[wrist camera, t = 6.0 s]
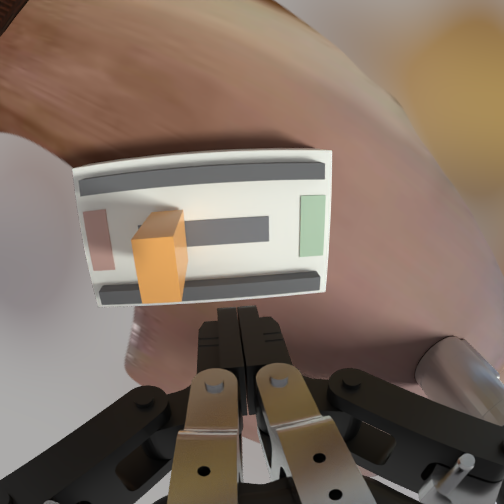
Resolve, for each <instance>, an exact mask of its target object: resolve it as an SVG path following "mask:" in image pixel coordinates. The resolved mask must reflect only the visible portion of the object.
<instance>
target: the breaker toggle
mask: <svg viewBox="0 0 504 504" xmlns="http://www.w3.org/2000/svg"><path fill="white" fill-rule="evenodd" d="M131 244H132V250H133V256H134V262H135V268H136V274H137V279H138V284H139V290H140V295H141V300H142V304H149V303H169V302H182V296H183V289H184V283H185V277H186V271H187V265H188V254H187V244H186V234H185V223H184V212H183V210H172V211H160V212H151V214H150V215H149V216H148V217H147V219H146V220H145V221H144V223H143V224H142V225H141V227H140V228H139V229H138V231H137V232H136V233H135V235H134V236H133V238H132V239H131Z"/></svg>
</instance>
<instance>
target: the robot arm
mask: <svg viewBox="0 0 504 504" xmlns="http://www.w3.org/2000/svg"><path fill="white" fill-rule="evenodd" d="M217 313H218V321H209V322H204V323H203V325H202V326H201V328H200V329H199V337H198V339H199V340H198V359H197V375H196V376H195V377H194V378H193V380H192V383H191V385H190V386H189V387H187V388H186V389H183V390H181V391H178V392H175V393H171V394H167V395H166V393H165V392H164V391H163V390H162V389H160V388H158V387H155V386H140V387H137V388H134V389H132V390H131V391H129V392H128V393H127V394H125V395H124V396H123V397H121V398H120V399H118V400H117V401H116V402H114V403H113V404H111V405H110V406H109V407H107V408H106V409H104V410H103V411H102V412H100V413H99V414H97V415H96V416H95V417H93V418H92V419H90V420H89V421H88V422H86V423H85V424H83V425H82V426H81V427H79V428H78V429H76V430H75V431H73V432H72V433H70V434H69V435H68V436H66V437H65V438H63V439H62V440H60V441H59V442H57V443H56V444H54V445H53V446H51V447H50V448H49V449H47V450H46V451H44V452H43V453H41V454H40V455H38V456H37V457H35V458H34V459H32V460H31V461H29V462H28V463H26V464H25V465H23V466H21V467H20V468H19V469H17V470H15V471H14V472H12V473H11V474H9V475H8V476H6V477H4V478H3V479H1V480H0V504H134V503H135V502H136V501H137V500H138V499H140V497H142V496H143V495H144V494H145V493H146V492H148V491H149V490H150V489H151V488H152V487H153V486H154V485H155V484H156V483H158V481H160V480H161V479H162V478H163V477H164V476H165V475H166V474H167V473H168V472H169V471H171V470H172V471H171V478H170V486H169V492H168V495H167V496H165V497H163V498H161V499H159V500H157V501H156V502H154V503H153V504H495V502H497V504H504V384H503V383H502V382H501V381H500V380H499V377H500V375H499V373H498V372H497V371H496V370H495V369H494V368H493V367H492V366H491V365H490V364H489V363H488V362H487V361H486V360H485V359H484V358H483V357H482V356H481V355H480V354H479V353H478V352H477V351H476V350H475V349H474V348H473V347H472V346H471V345H470V344H469V343H468V342H467V341H466V340H465V339H464V340H460V339H459V338H458V337H448V338H445V339H443V340H441V341H439V342H438V343H436V344H435V345H434V346H433V347H432V348H430V349H429V351H428V352H427V353H426V354H425V355H424V356H423V358H422V359H421V361H420V362H419V364H418V366H417V368H416V372H415V379H416V381H417V383H418V384H419V385H420V387H421V388H422V390H423V391H424V392H425V394H426V395H427V396H428V398H429V399H430V400H429V399H427V398H425V397H422V396H420V395H417V394H415V393H412V392H410V391H408V390H405V389H403V388H400V387H398V386H396V385H393V384H391V383H389V382H386V381H384V380H382V379H379V378H377V377H375V376H373V375H370V374H368V373H366V372H364V371H361V370H358V369H353V368H347V369H341V370H338V371H336V372H335V373H333V374H332V375H331V377H330V379H329V380H322V379H312V378H308V377H305V376H303V375H301V373H300V371H299V370H298V369H297V368H296V367H294V366H293V365H292V362H291V359H290V356H289V353H288V350H287V347H286V344H285V342H284V339H283V336H282V333H281V330H280V327H279V324H278V323H277V322H276V321H275V320H274V319H273V318H271V317H262V318H259V315H258V311H257V307H256V305H255V306H242V307H237V312H236V307H229V308H217ZM237 313H238V319H237ZM246 397H247V403H246ZM247 404H248V410H249V415H254V414H256V419H257V432H258V436H259V440H260V443H261V447H262V450H263V453H264V457H265V461H266V464H267V467H268V471H269V475H270V480H271V482H270V483H267V484H250V483H243V456H242V430H243V417H242V416H244V415H247ZM362 421H363V422H362ZM364 422H365V423H364ZM366 423H367V424H366ZM368 424H369V425H368ZM370 425H372V426H370ZM373 426H374V427H373ZM375 427H376V428H375ZM377 428H378V429H377ZM379 429H380V430H379ZM381 430H382V431H381ZM383 431H384V432H383ZM385 432H386V433H385ZM387 433H388V434H387ZM389 434H390V435H389ZM356 464H357V465H359V466H361V467H363V468H365V469H367V470H369V471H371V472H373V473H375V474H377V475H379V476H381V477H383V478H385V479H387V480H389V481H391V482H393V483H395V484H398V485H400V486H402V487H404V488H406V489H409V490H411V491H413V492H416V493H418V495H419V500H420V502H419V501H417V500H415V499H413V498H410V497H408V496H406V495H404V494H402V493H400V492H398V491H396V490H394V489H392V488H390V487H388V486H386V485H384V484H383V483H381V482H379V481H377V480H375V479H372V478H370V477H367V476H363V475H362V474H361V472H360V470H359V468H358V467H357V465H356Z"/></svg>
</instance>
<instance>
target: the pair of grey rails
mask: <svg viewBox="0 0 504 504" xmlns="http://www.w3.org/2000/svg"><path fill="white" fill-rule="evenodd" d="M324 179H325V163H322V162H260V163H234V164H216V165H200V166H187V167H175V168H164V169H154V170H144V171H135V172H127V173H119V174H111V175H104V176H96V177H90V178H84V179H81V180H79V181H78V182H79V190H80V197H81V196H88V195H96V194H103V193H112V192H120V191H129V190H138V189H148V188H159V187H170V186H182V185H195V184H209V183H226V182H245V181H270V180H324ZM320 278H321V277H320V275H319V274H318V273H317V271H309V272H298V273H286V274H273V275H261V276H248V277H234V278H220V279H206V280H191V281H185V283H184V289H183V296H182V301H197V300H212V299H226V298H239V297H251V296H263V295H275V294H286V293H296V292H306V291H316V290H320ZM99 296H100V300H101V303H102V305H115V304H141V303H142V300H141V295H140V290H139V284H122V285H103V286H102V287H101V289H100V291H99Z"/></svg>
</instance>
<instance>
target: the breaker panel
mask: <svg viewBox="0 0 504 504" xmlns="http://www.w3.org/2000/svg"><path fill="white" fill-rule="evenodd" d="M260 162H322V163H325V179H324V180H270V181H245V182H226V183H209V184H195V185H182V186H170V187H159V188H148V189H138V190H129V191H120V192H112V193H103V194H96V195H88V196H81V197H80V190H79V182H78V181H79V180H81V179H84V178H90V177H96V176H104V175H111V174H119V173H127V172H135V171H144V170H154V169H164V168H175V167H187V166H200V165H216V164H234V163H260ZM72 172H73V180H74V188H75V197H76V204H77V210H78V217H79V223H80V229H81V235H82V240H83V245H84V250H85V255H86V260H87V264H88V269H89V273H90V277H91V282H92V286H93V290H94V294H95V297H96V301H97V305H98V307H124V306H149V305H169V304H187V303H203V302H218V301H231V300H244V299H256V298H268V297H279V296H290V295H300V294H310V293H319V292H325V291H326V279H327V266H328V251H329V234H330V213H331V183H332V151H331V150H325V149H318V148H255V149H228V150H210V151H195V152H183V153H171V154H161V155H151V156H142V157H134V158H126V159H118V160H111V161H104V162H98V163H91V164H87V165H84V166H80V167H76V168H73V169H72ZM172 210H183V212H184V223H185V234H186V244H187V254H188V265H187V271H186V277H185V281H191V280H206V279H220V278H234V277H248V276H261V275H273V274H286V273H298V272H309V271H317V273H318V274H319V275H320V277H321V278H320V290H316V291H306V292H296V293H286V294H275V295H263V296H251V297H239V298H226V299H212V300H197V301H182V302H169V303H149V304H142V303H141V304H115V305H102V303H101V300H100V296H99V291H100V289H101V287H102V286H103V285H122V284H138V279H137V274H136V268H135V262H134V256H133V250H132V244H131V239H132V238H133V236H134V235H135V233H136V232H137V231H138V229H139V228H140V227H141V225H142V224H143V223H144V221H145V220H146V219H147V217H148V216H149V215H150V214H151V212H160V211H172Z"/></svg>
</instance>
